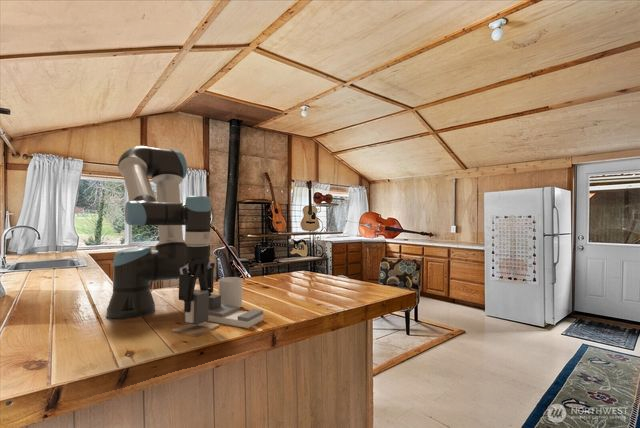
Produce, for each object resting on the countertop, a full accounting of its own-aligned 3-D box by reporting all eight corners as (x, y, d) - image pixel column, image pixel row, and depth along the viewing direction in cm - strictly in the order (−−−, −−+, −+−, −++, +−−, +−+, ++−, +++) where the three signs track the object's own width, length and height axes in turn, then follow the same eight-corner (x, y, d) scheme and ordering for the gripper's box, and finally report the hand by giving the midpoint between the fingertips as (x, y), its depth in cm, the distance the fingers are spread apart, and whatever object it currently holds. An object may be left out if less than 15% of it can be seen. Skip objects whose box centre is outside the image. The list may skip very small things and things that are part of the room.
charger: (184, 322, 101) (184, 292, 101) (196, 318, 105) (196, 289, 105) (196, 325, 99) (197, 294, 99) (208, 320, 103) (208, 290, 103)
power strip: (189, 317, 113) (190, 297, 113) (207, 310, 121) (208, 291, 121) (247, 328, 104) (248, 305, 104) (263, 319, 112) (263, 298, 112)
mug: (243, 310, 123) (244, 280, 123) (219, 312, 119) (219, 282, 119) (239, 302, 134) (239, 275, 134) (216, 304, 130) (217, 276, 130)
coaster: (171, 331, 99) (171, 329, 99) (195, 321, 109) (195, 320, 109) (196, 336, 96) (196, 334, 96) (219, 326, 105) (219, 324, 105)
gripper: (184, 248, 92) (183, 330, 92) (226, 243, 109) (224, 313, 109) (165, 246, 95) (163, 326, 95) (208, 242, 112) (207, 310, 112)
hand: (196, 319), depth 102 cm, fingers closed on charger, 5 cm apart
